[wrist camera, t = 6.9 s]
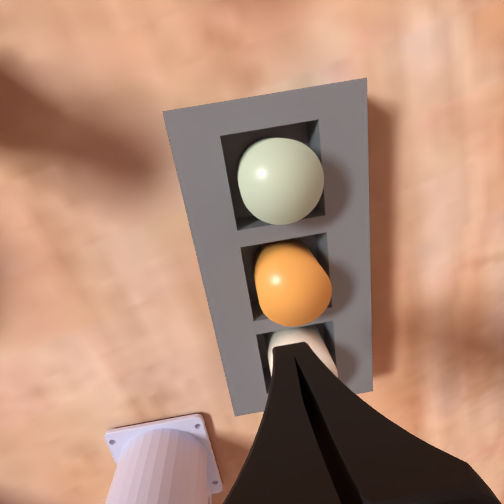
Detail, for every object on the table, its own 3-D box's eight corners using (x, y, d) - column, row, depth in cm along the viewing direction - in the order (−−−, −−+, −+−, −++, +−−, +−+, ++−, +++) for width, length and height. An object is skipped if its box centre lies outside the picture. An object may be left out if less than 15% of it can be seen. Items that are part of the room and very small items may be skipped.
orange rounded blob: (315, 286, 22) (334, 319, 18) (257, 297, 21) (264, 332, 18) (310, 231, 20) (329, 254, 16) (247, 242, 20) (253, 267, 16)
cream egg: (321, 357, 24) (339, 399, 20) (269, 366, 24) (277, 410, 20) (317, 311, 22) (335, 348, 19) (261, 322, 22) (268, 360, 18)
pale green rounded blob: (307, 200, 19) (326, 217, 16) (242, 211, 19) (246, 231, 16) (300, 131, 18) (320, 131, 14) (231, 143, 18) (232, 146, 14)
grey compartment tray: (356, 362, 25) (372, 390, 23) (233, 384, 25) (235, 416, 22) (345, 85, 18) (366, 77, 15) (172, 114, 18) (162, 111, 15)
